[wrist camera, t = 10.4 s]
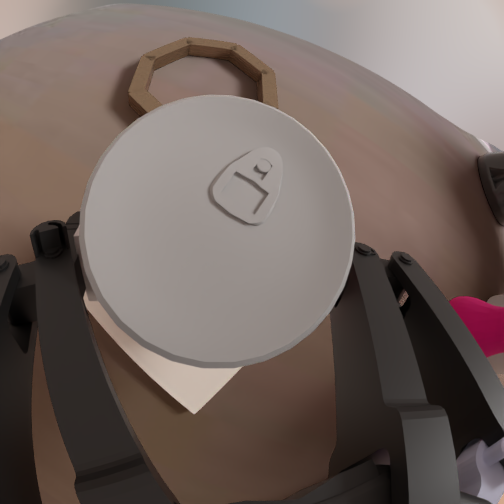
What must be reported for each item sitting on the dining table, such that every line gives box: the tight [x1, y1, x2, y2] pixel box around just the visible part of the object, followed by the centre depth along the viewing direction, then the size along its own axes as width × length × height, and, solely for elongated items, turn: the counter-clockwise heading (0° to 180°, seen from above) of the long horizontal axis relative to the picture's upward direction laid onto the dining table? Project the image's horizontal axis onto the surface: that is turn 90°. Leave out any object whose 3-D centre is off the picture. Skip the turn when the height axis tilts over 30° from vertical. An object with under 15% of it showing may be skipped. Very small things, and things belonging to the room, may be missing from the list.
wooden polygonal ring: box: [128, 37, 278, 117], centre depth 21 cm, size 13×13×2 cm
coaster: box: [83, 290, 243, 414], centre depth 18 cm, size 14×14×1 cm
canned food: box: [79, 95, 355, 368], centre depth 12 cm, size 8×8×11 cm
